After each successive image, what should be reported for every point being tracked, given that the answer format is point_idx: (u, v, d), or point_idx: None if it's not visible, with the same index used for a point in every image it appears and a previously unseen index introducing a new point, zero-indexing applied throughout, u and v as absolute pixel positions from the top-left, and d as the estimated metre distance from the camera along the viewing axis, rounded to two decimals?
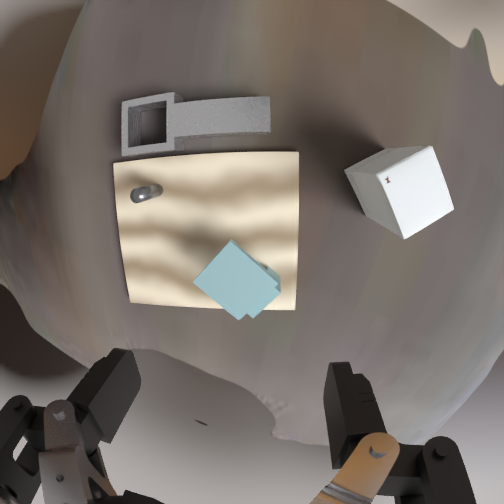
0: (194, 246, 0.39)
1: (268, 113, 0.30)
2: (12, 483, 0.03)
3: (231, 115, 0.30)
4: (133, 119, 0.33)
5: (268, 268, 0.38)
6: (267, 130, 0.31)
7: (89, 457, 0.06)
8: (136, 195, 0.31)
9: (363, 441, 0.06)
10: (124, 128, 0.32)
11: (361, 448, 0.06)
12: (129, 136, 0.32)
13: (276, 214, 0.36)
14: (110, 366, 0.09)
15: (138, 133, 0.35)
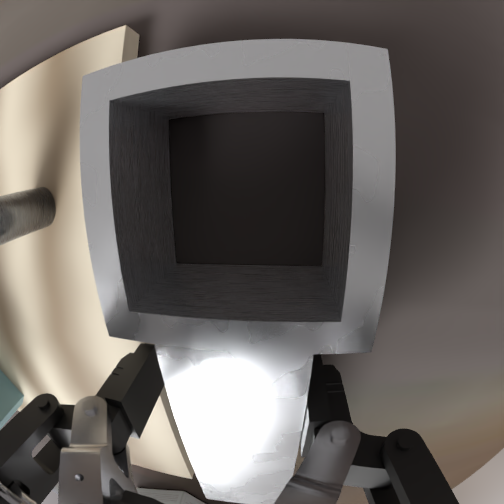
0: None
1: (245, 502, 0.11)
2: (26, 480, 0.04)
3: (238, 472, 0.09)
4: (279, 95, 0.07)
5: (18, 401, 0.14)
6: (207, 497, 0.11)
7: (116, 455, 0.07)
8: None
9: (322, 431, 0.06)
10: (215, 60, 0.05)
11: (321, 434, 0.06)
12: (173, 91, 0.06)
13: None
14: (139, 361, 0.09)
15: (219, 109, 0.08)
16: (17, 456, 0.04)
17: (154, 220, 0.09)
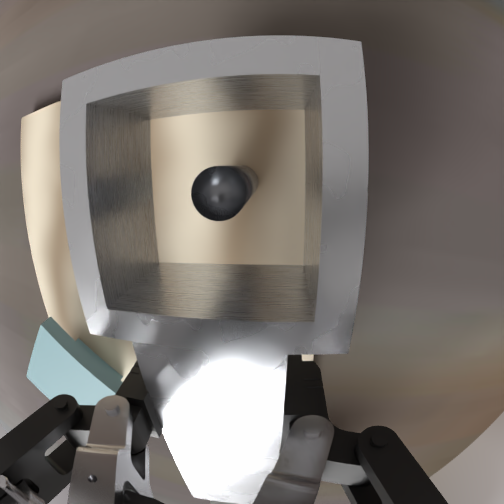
0: None
1: (232, 502, 0.11)
2: (37, 479, 0.04)
3: (221, 471, 0.09)
4: (253, 93, 0.07)
5: None
6: (194, 495, 0.11)
7: (134, 455, 0.07)
8: (219, 193, 0.09)
9: (295, 426, 0.07)
10: (185, 60, 0.05)
11: (294, 428, 0.07)
12: (146, 93, 0.06)
13: None
14: None
15: (198, 108, 0.08)
16: (29, 456, 0.04)
17: (134, 219, 0.09)
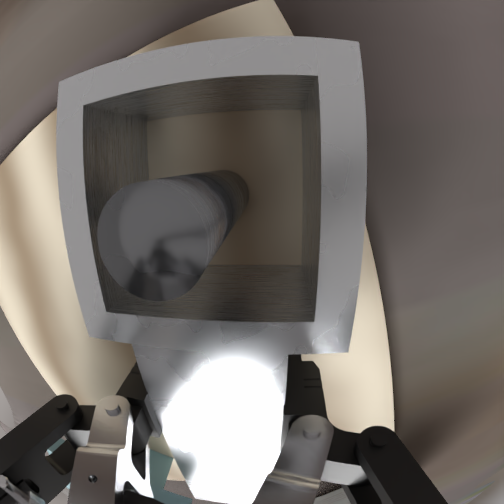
0: (118, 350, 0.13)
1: (234, 502, 0.11)
2: (37, 479, 0.04)
3: (223, 471, 0.09)
4: (251, 93, 0.07)
5: (170, 467, 0.15)
6: (196, 497, 0.11)
7: (135, 455, 0.07)
8: (150, 243, 0.04)
9: (295, 426, 0.07)
10: (182, 61, 0.05)
11: (294, 428, 0.07)
12: (144, 94, 0.06)
13: None
14: None
15: (195, 109, 0.08)
16: (29, 456, 0.04)
17: None
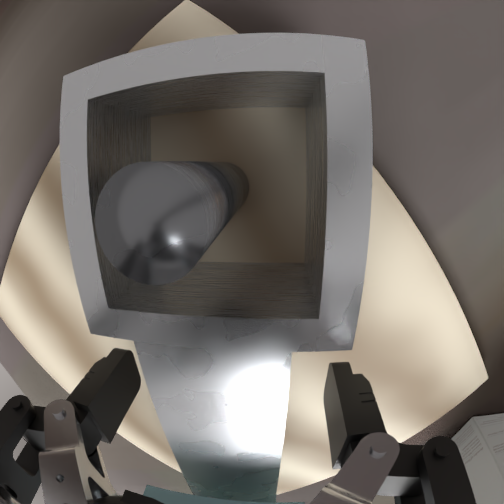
0: None
1: None
2: (12, 483, 0.03)
3: (224, 471, 0.09)
4: (256, 90, 0.07)
5: None
6: None
7: (89, 457, 0.06)
8: (147, 224, 0.04)
9: (363, 441, 0.06)
10: (189, 56, 0.05)
11: (361, 448, 0.06)
12: (149, 89, 0.06)
13: None
14: (110, 366, 0.09)
15: (199, 105, 0.08)
16: (0, 459, 0.04)
17: None
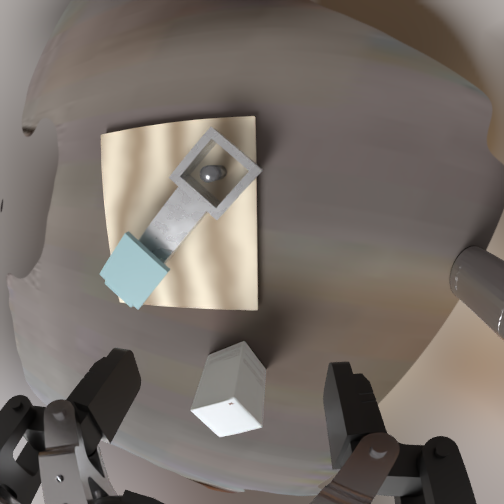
0: None
1: None
2: (12, 483, 0.03)
3: (156, 242, 0.33)
4: None
5: None
6: None
7: (89, 457, 0.06)
8: (208, 173, 0.28)
9: (364, 441, 0.06)
10: (232, 150, 0.29)
11: (361, 448, 0.06)
12: (222, 147, 0.30)
13: (199, 290, 0.39)
14: (110, 366, 0.09)
15: None
16: (0, 459, 0.04)
17: (196, 162, 0.32)
